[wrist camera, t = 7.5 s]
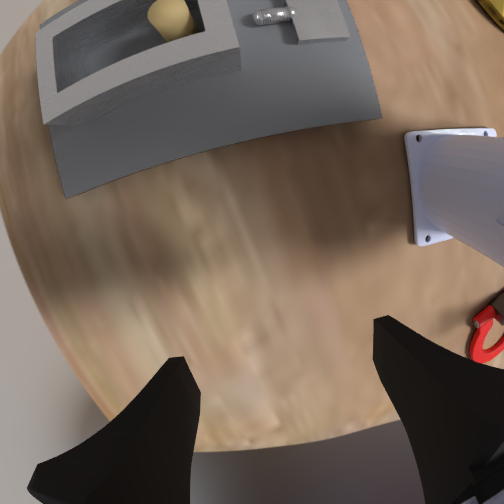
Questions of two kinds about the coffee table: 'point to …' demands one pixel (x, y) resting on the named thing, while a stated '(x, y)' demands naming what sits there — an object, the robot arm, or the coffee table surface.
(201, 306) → the coffee table surface
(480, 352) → the tow hook
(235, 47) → the steel link
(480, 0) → the olive flat disc
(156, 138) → the board
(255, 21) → the chain anchor
